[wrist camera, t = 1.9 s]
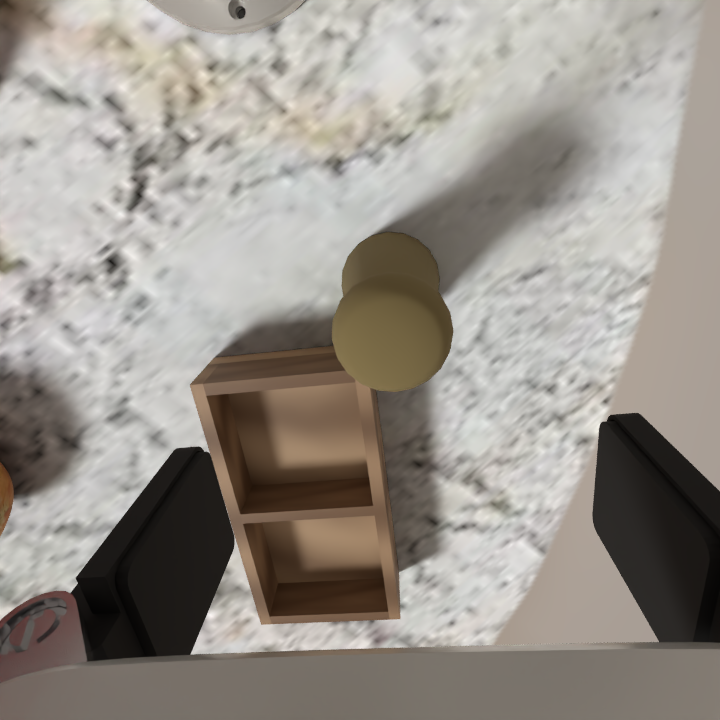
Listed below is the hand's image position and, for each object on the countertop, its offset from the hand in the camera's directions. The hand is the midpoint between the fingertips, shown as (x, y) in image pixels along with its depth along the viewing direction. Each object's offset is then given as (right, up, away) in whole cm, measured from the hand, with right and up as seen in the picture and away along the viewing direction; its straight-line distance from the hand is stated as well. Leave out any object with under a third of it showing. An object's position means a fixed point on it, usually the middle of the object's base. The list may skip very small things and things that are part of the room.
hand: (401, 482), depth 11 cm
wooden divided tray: (-4, -6, +23) cm, 24 cm away
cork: (+1, +8, +18) cm, 19 cm away
